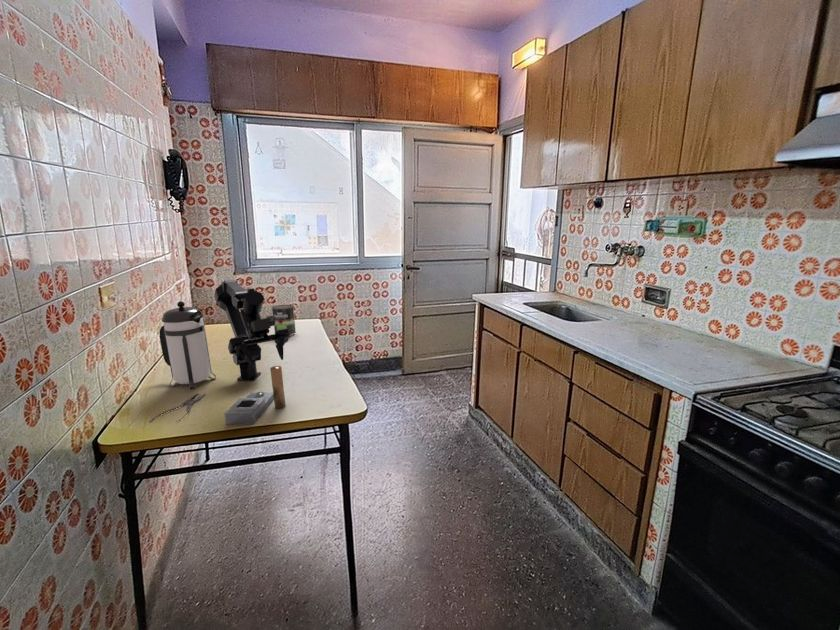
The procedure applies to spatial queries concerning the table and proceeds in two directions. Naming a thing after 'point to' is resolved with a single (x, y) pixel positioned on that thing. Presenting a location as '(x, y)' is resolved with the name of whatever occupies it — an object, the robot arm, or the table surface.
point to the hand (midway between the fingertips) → (268, 362)
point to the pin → (278, 387)
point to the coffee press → (185, 345)
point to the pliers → (189, 402)
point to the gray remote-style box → (248, 408)
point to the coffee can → (284, 317)
